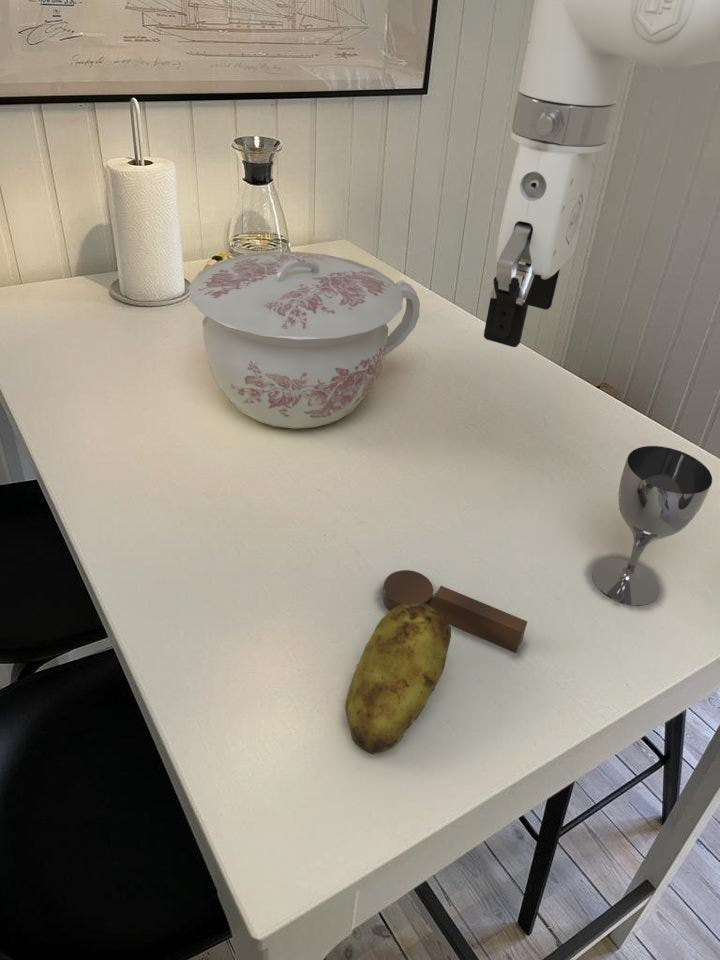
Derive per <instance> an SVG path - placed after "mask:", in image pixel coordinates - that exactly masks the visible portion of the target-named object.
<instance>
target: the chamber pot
mask: <svg viewBox="0 0 720 960" xmlns="http://www.w3.org/2000/svg"><path fill="white" fill-rule="evenodd" d="M188 294H189V302H191V303H192V305H193V306H194V307H195V308H197V310H198V311H199V312H200V313H201V314H202V315H203V316H204V318H203V319H202V337H203V338H202V339H203V346H204V353H205V356H206V359H207V363H208V366H209V370H210V374H211V377H212V379H213V380H214V381H215V383H216V384H217V385H218V386H219V388H220V389H221V390H222V391H223V393H224V394H225V395H226V397H227V398H228V399H229V401H230V402H231V403H232V404H233V405H234V406H235V408H236V409H237V410H238V411H239V412H241V413H243V415H245V416H247V417H249V418H251V419H253V420H254V421H256V422H259V423H262V424H266V425H269V426H272V427H277V428H284V429H285V428H286V429H287V428H288V429H295V430H296V429H311V428H318V427H322V426H326V425H329V424H333V423H335V422H337V421H339V420H341V419H342V418H344V417H346V416H348V415H349V414H351V413H352V412H353V411H354V410H355V408H356V407H357V406H358V405H359V404H360V403H361V401H362V400H364V398H365V397H366V395H368V394H369V392H370V391H371V390H372V389H373V388H374V386H376V385H377V383H378V381H379V377H380V375H381V372H382V368H383V367H384V366H383V365H384V364H385V360H386V357H387V356H388V355H389V354H390V353H391V352H393V351H394V350H395V349H397V348H398V347H399V346H400V345H401V344H403V343H404V342H405V340H406V339H407V338H408V336H409V335H410V334H411V333H412V332H413V331H414V329H415V328H416V326H417V323H418V320H419V319H420V309H421V307H420V306H421V303H420V299H419V296H418V294H417V292H416V290H415V289H414V287H413V286H412V285H411V284H409V283H408V282H406V281H405V280H398V281H397V282H396V283H395V282H394V280H393V279H391V278H390V277H388V276H386V275H385V274H384V273H382V272H381V271H379V270H377V269H376V268H373V267H370V266H369V265H366V264H363V263H361V262H358V261H356V260H351V259H348V258H342V257H340V256H339V257H338V256H334V255H330V254H324V253H314V252H304V251H264V252H256V253H250V254H241V255H240V254H239V255H237V256H233V257H230V258H227V259H223V260H220V261H217V262H215V263H213V264H211V265H209V266H208V267H205V268H204V269H202V270H201V271H199V272H197V274H196V276H195V277H194V278H193V280H192V281H191V282H190V284H189V286H188ZM404 299H405V311H404V314H403V316H402V319H401V321H400V323H398V325H396V327H395V328H394V329H393V330H392V331H391V333H390V334H389V326H388V325H387V324H388V323H390V322H392V320H393V319H394V318H396V317H397V315H398V314H399V313H400V312H401V311H402V310H403V304H404Z"/></svg>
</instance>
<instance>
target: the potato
mask: <svg viewBox="0 0 720 960" xmlns="http://www.w3.org/2000/svg"><path fill="white" fill-rule="evenodd" d="M451 639H452V628H451V625H450V624H449V623H448V622H447V619H446V618H445V617H444V616H443V615H441V614H440V613H439V612H438V611H436V610H435V609H433V608H432V607H430V606H429V605H426V604H424V603H419V602H413V603H410V602H408V603H404V604H400V605H398V606H396V607H395V608H394V609H392V610H391V611H389V612H387V613H386V614H385V615H384V616H383V617H382V618H381V619H380V621H379V622H378V624H377V625H376V627H375V628H374V630H373V633H372V635H371V636H370V638H369V640H368V641H367V643H366V644H365V646H364V648H363V651H362V653H361V656H360V658H359V660H358V663H357V665H356V668H355V670H354V672H353V676H352V678H351V682H350V684H349V688H348V691H347V694H346V699H345V715H346V720H347V724H348V726H349V732H350V736H351V739H352V740H351V741H353V743H354V744H355V745H356V746H357V747H358V748H359V749H361V750H363V751H364V752H365V753H367V754H371V755H375V754H380V753H384V752H386V751H389V750H390V749H392V748H393V747H395V746H396V745H397V744H398V743H399V742H400V741H401V740H402V738H404V734H405V733H406V731H407V730H408V729H409V728H410V727H411V725H413V722H414V721H416V720H418V717H419V716H420V715H421V713H422V712H423V710H424V709H425V708H426V703H427V702H428V700H429V698H430V696H431V695H432V693H433V692H434V691H435V689H436V686H437V684H438V682H439V681H440V679H441V678H442V674H443V672H444V669H445V668H446V667H445V666H446V660H447V656H448V655H447V654H448V651H449V647H450V644H451Z"/></svg>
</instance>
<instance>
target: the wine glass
mask: <svg viewBox="0 0 720 960" xmlns="http://www.w3.org/2000/svg"><path fill="white" fill-rule="evenodd" d="M712 484H713V476H712V473H711V472H710V470H709V468H707V466H706V465H705V464H704V463H703V462H701V460H698V459H697V458H696V457H694V456H692V455H691V454H688V453H686V452H685V451H681V450H678V449H675V448H670V447H668V446H661V445H646V446H645V445H644V446H639V447H637V448H635V449H633V450H631V452H629V454H628V455H627V458H626V461H625V464H624V467H623V470H622V473H621V477H620V481H619V485H618V486H619V487H618V499H617V501H618V510H619V512H620V515H621V517H622V519H623V520H624V522H625V524H626V525H627V527H628V528H629V529H630V531H631V534H632V538H633V544H632V550H631V553H630V557H629V559H628V560H627V559H622V558H608V559H604V560H600V561H599V562H597V563H596V565H595V564H594V567H593V568H592V572H591V577H592V580H593V582H594V585H595V586H596V587H597V589H598V590H599V591H600V592H601V593H602V594H604V595H605V596H606V597H608V598H610V599H611V600H613V601H615V602H618V603H620V604H624V605H628V606H646V605H649V604H652V603H654V602H655V601H656V600H657V599H658V598H659V595H660V592H661V591H660V585H659V582H658V580H657V578H656V577H655V576H654V575H653V573H652V572H650V571H649V570H648V569H647V568H645V567H643V566H641V565H640V564H638V561H639V559H640V558H641V556H642V554H643V553H644V551H645V549H646V548H647V546H649V544H651V543H652V542H655V541H656V540H660V539H664V538H668V537H671V536H674V535H676V534H678V533H680V532H681V531H683V530H684V529H685V528H686V527H687V526H688V525H689V524H690V523H691V522H692V520H693V519H694V518H695V516H697V514H698V512H699V511H700V509H701V508H702V505H703V504H704V502H705V500H706V498H707V496H708V494H709V492H710V489H711V487H712Z"/></svg>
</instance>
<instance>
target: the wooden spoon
mask: <svg viewBox="0 0 720 960" xmlns="http://www.w3.org/2000/svg"><path fill="white" fill-rule="evenodd" d="M382 602H383V605H384V607H385V608H386V609H387V610H388V611H389V612H390V611H391V610H392V609H394V608H395V607H396V606H398V605H400V604H404V603H408V602H410V603H413V602H419V603H424V604H426V605H429V606H430V607H432V608H433V609H435V610H436V611H438V612H439V613H440V614H441V615H443V616H444V617H445V618H446V619H447V622H448V623H449V626H452V627H455V628H457V629H460V630H462V631H464V632H466V633H469V634H470V635H474V636H476V637H478V638H480V639H482V640H485V641H487V642H489V643H491V644H494V645H497V646H499V647H501V648H503V649H506V650H508V651H510V652H512V653H514V654H517V652H518V651H519V648H520V647H521V644H522V641H523V638H524V635H525V632H526V629H527V624H528V620H525V619H522V618H520V617H518V616H515V615H513V614H511V613H509V612H507V611H504V610H501V609H499V608H496V607H494V606H492V605H489V604H487V603H484V602H482V601H479V600H478V599H475V598H472V597H470V596H467V595H466V594H463V593H460V592H458V591H456V590H453V589H451V588H448V587H446V586H443V585H440V586H439V588H438V589H437V591H436V592H435V593H434V586H433V583H432V582H431V580H430V579H429V578H428V576H426V575H424V574H422V573H420V572H418V571H415V570H409V569H401V570H397V571H394V572H392V573H390V574H388V576H387V577H386V578H385V580H384V582H383V588H382Z"/></svg>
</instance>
